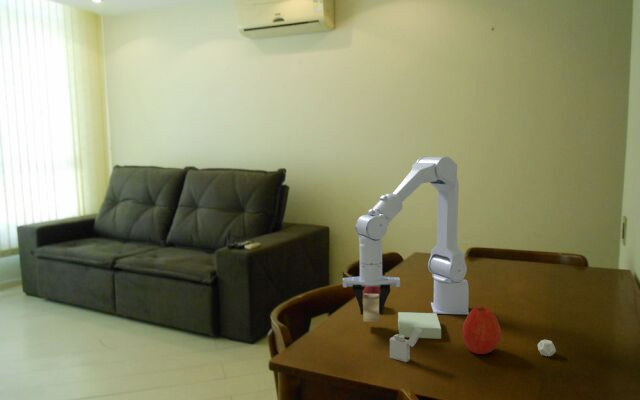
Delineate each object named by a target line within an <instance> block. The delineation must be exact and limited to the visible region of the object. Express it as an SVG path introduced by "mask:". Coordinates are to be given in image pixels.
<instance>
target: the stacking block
mask: <svg viewBox="0 0 640 400" xmlns="http://www.w3.org/2000/svg"><path fill="white" fill-rule="evenodd" d="M397 324H398V334H399V335H403V336H405V338H410V336H411V334H412V333H413V331H414V329H415V328H416V327H417V326H418V327H419V328H420V329H422V330H423V331H422V333H421V334H420V336H419V338H418V339H436V340H437V339H439V340H440V339H442V327H441V323H440V321H439V317H438V314H436V313H433V312H408V311H407V312H406V311H405V312H401V311H399V312H397Z"/></svg>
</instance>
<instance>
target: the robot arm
mask: <svg viewBox="0 0 640 400" xmlns="http://www.w3.org/2000/svg"><path fill="white" fill-rule="evenodd" d="M427 183H430V185H432V186H433V187H434V188H435V189H436V190H437V219H436V221H437V224H436V225H437V228H436V245H435V246H434V247H432V249H431V250H430V257H429V259H428V262H427V268H428V271H429V273H431V276H432V278H433V302H432V301H431V302H430V306H431V308H432V313H436V314H437V315H438V314H441V315H468V314H469V313H470V311H469V301H470V300H469V298H470V297H469V296H470V295H469V293H470V291H469V282H468V280H467V279H464V278H465V276H466V275H467V271H468V270H467V268H468V267H467V266H468V265H467V263H466V260H465V259H466V258H465V257H466V256H465V253H464V252H463V251H462V250H461V249H460V248H459V246H458V225H459V224H458V223H459V221H458V220H459V217H458V216H459V191H460V190H459V188H460V187H459V179H458V164H457V163H456V162H455V161H454V160H453V159H452V158H451V157H450V156H425V155H424V156H421V157H419V158H418V159H417V160H416V162H414V163H413V164H412V165H411V170H410V172H409V173H408V174H407V175H406V176H405V177H404V179H403V180H402V181H401V183H400V184H399V185H398V186H397V188H395V190H393V192H392V193H385V195H383V194H382V195H381V196H380V197H379V201H378V202H377V203H376V204H375V205H374V206H373V207H372V208H369V210H368V211H367V214H363V215H360V217H358V219H357V221H356V222H355V225H354V226H353V227H354V231H355V233H356V234H357V235H358V241H359V244H358V245H359V247H358V249H359V275H358V276H352V277H343V278H342V288H347V287H351V288H352V292H353V294H354V296H355V298H356V300H357V304H358V306H359V311H360V315H361V316H363V287H366V286H379V295H380V300H379V316H380V315H383V312H384V307H385V305H386V301H387V299H388V297H389V295H390V293H391V287H396V288H400V287H401V279H400V277H399V276H397V277H394V276H384V275H383V237H385V236H386V234H387V231H388V228H389V226H390V223H392V221H393V220H394V219H395V218H396V217H397V216H398V214H399V213H400V212H401V211H402V210H403V203H404V201H406V199H408V197H410V196H411V195H412V194H413V193H414V192H415V191H416V190H417V189H418V188H419V187H420V186H421V185H423V184H427Z"/></svg>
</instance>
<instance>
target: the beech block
mask: <svg viewBox="0 0 640 400" xmlns="http://www.w3.org/2000/svg"><path fill="white" fill-rule="evenodd" d="M362 316H363V318H362V319H363V321H362V322H373V323H375V322H377V323H379V322H380V313H379V294H364V295H363V315H362Z"/></svg>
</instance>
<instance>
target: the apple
mask: <svg viewBox="0 0 640 400" xmlns="http://www.w3.org/2000/svg"><path fill="white" fill-rule="evenodd" d="M462 337H463V338H462V339H463V343H465V346H466V348H467V349H468V351H470V352H471V353H473V354H476V355H485V354H489V353H491V352H493V351H494V350H495V349H496V347H497V346H498V344H499V342H500V340H501V337H502V330H501V326H500V324H499V321H498V318H497V317H496V315H495V314H494V312H493V311H492V310H491V309H490V308H489V307H486V306H484V305H482V306H476V307H473V308H472V309H471V310H470V311H469V314H467V316H466V318H465V319H464V322H463V324H462Z"/></svg>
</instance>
